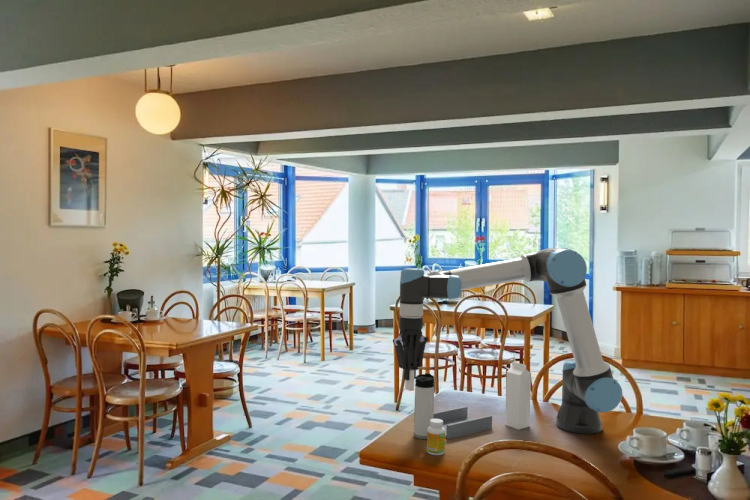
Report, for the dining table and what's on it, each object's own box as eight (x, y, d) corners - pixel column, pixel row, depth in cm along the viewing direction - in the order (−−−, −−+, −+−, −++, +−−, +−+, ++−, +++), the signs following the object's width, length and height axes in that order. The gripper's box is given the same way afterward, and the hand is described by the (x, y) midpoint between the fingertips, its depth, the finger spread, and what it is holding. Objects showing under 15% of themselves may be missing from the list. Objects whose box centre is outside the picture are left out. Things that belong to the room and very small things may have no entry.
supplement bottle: (439, 457, 171) (440, 424, 170) (423, 453, 173) (424, 421, 173) (447, 451, 175) (448, 419, 175) (431, 447, 178) (432, 416, 178)
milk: (518, 430, 197) (520, 366, 196) (504, 425, 202) (506, 362, 201) (529, 426, 200) (531, 364, 200) (515, 421, 205) (517, 360, 205)
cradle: (491, 428, 197) (492, 415, 197) (448, 439, 186) (448, 425, 186) (465, 418, 208) (465, 406, 208) (422, 427, 197) (423, 414, 196)
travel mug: (435, 434, 190) (437, 374, 190) (429, 440, 184) (430, 378, 184) (418, 431, 193) (419, 372, 192) (411, 437, 187) (412, 376, 186)
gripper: (419, 313, 191) (417, 384, 191) (387, 316, 183) (386, 389, 184) (434, 316, 184) (432, 389, 185) (402, 319, 177) (400, 395, 177)
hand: (409, 389), depth 184 cm, fingers closed
